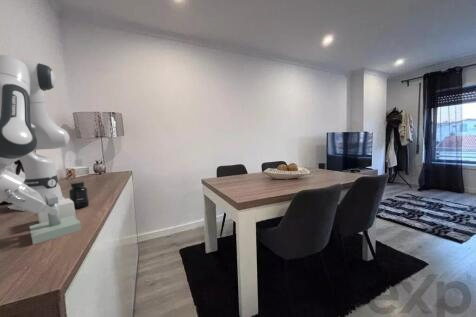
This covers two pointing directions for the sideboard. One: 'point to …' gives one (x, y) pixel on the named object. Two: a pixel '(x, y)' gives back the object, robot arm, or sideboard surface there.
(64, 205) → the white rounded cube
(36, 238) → the t-shaped pedestal stand
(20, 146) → the robot arm
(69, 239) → the sideboard surface
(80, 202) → the supplement bottle
